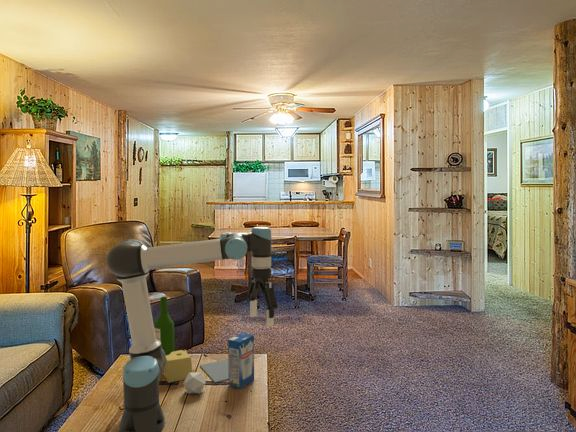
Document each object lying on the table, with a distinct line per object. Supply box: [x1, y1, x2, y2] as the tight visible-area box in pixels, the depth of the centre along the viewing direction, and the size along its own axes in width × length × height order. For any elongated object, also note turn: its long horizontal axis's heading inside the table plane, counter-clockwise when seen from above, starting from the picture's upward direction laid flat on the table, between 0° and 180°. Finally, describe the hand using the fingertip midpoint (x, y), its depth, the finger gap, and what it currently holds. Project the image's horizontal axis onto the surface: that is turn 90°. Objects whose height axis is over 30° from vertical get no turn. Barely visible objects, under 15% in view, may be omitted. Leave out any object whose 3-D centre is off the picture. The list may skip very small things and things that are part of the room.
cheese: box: [163, 349, 193, 384], centre depth 191 cm, size 10×11×10 cm
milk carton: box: [227, 332, 255, 390], centre depth 185 cm, size 10×6×20 cm, turn 148°
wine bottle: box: [154, 296, 176, 356], centre depth 202 cm, size 9×9×32 cm
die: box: [183, 371, 206, 395], centre depth 177 cm, size 8×9×10 cm
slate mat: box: [199, 358, 229, 384], centre depth 198 cm, size 18×20×1 cm
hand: (261, 321), depth 168 cm, fingers open, 13 cm apart
